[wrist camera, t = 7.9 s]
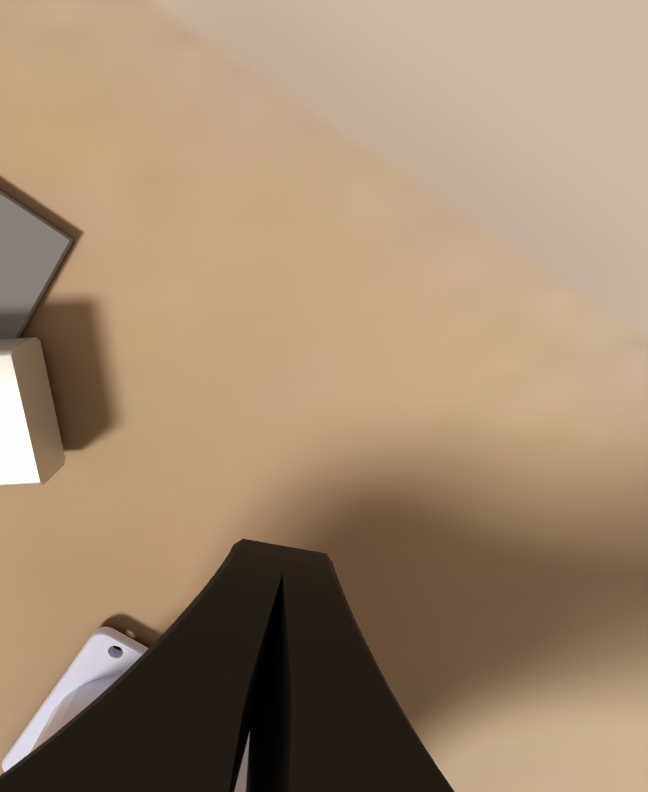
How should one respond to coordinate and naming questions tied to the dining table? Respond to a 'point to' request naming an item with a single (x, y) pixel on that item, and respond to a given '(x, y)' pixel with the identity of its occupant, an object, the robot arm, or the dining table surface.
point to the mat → (25, 263)
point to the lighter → (27, 416)
